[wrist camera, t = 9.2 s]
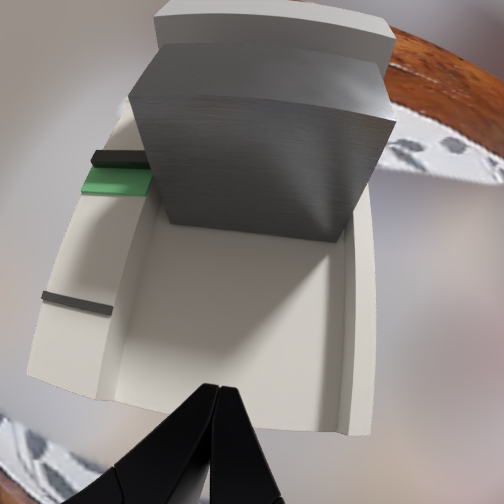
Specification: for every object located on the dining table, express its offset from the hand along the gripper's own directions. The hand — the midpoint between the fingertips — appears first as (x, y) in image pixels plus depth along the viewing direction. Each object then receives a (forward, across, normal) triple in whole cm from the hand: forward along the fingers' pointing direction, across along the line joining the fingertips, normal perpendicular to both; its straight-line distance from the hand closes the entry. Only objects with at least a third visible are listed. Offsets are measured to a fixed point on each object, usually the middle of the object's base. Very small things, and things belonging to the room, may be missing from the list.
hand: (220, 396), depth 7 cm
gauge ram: (+12, +2, -3) cm, 13 cm away
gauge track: (+11, +2, -1) cm, 12 cm away
